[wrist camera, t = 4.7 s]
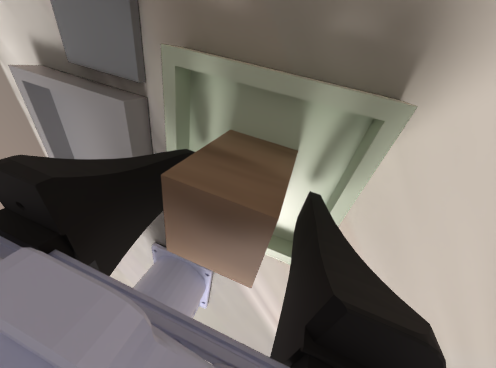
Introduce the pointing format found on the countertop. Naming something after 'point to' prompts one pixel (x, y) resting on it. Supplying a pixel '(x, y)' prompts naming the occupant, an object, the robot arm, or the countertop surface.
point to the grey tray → (83, 115)
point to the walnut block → (227, 203)
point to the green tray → (282, 126)
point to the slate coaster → (102, 35)
